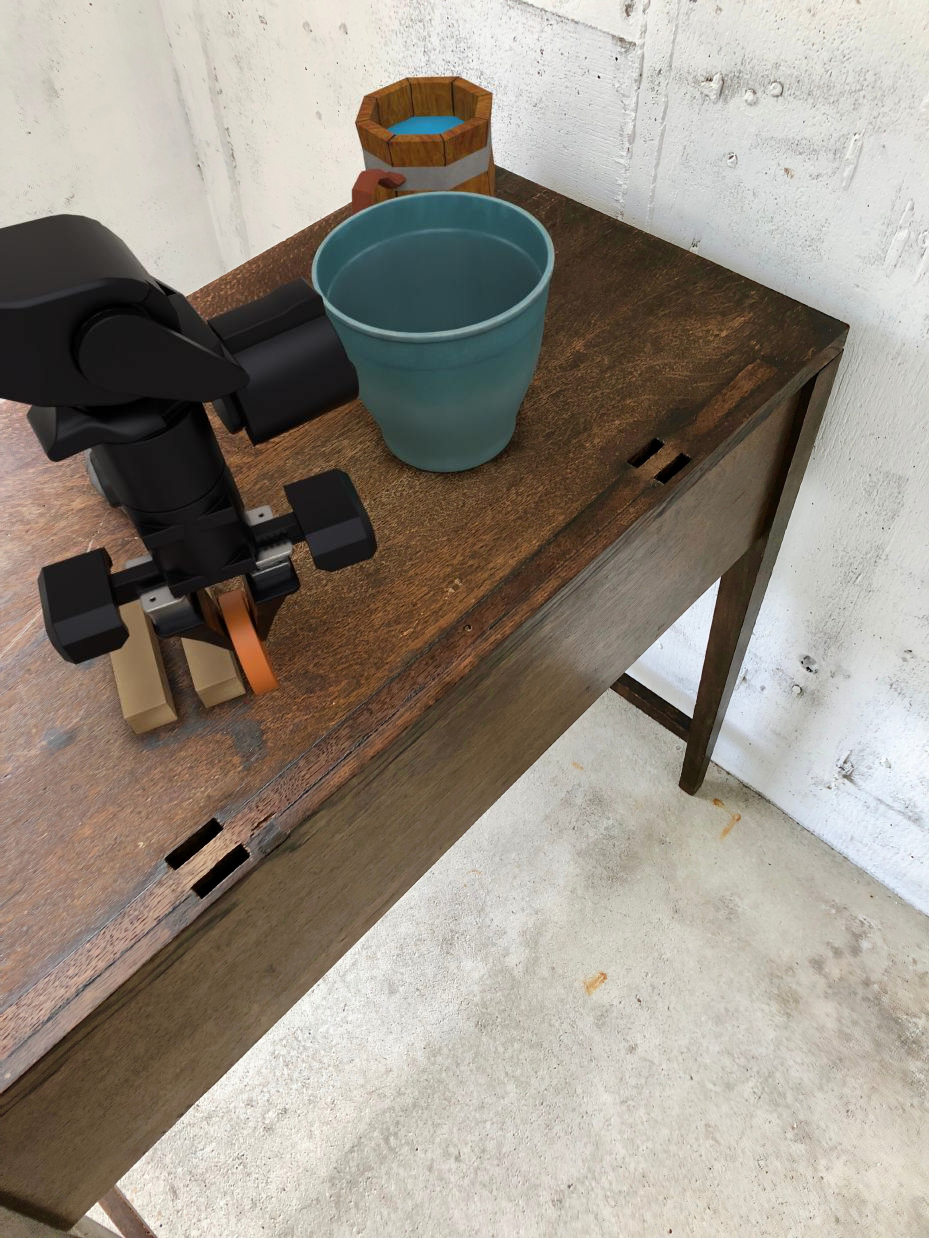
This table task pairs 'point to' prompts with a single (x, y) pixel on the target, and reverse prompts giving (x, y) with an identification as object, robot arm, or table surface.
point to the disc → (248, 642)
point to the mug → (424, 140)
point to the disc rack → (146, 675)
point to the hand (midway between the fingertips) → (248, 640)
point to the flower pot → (439, 319)
